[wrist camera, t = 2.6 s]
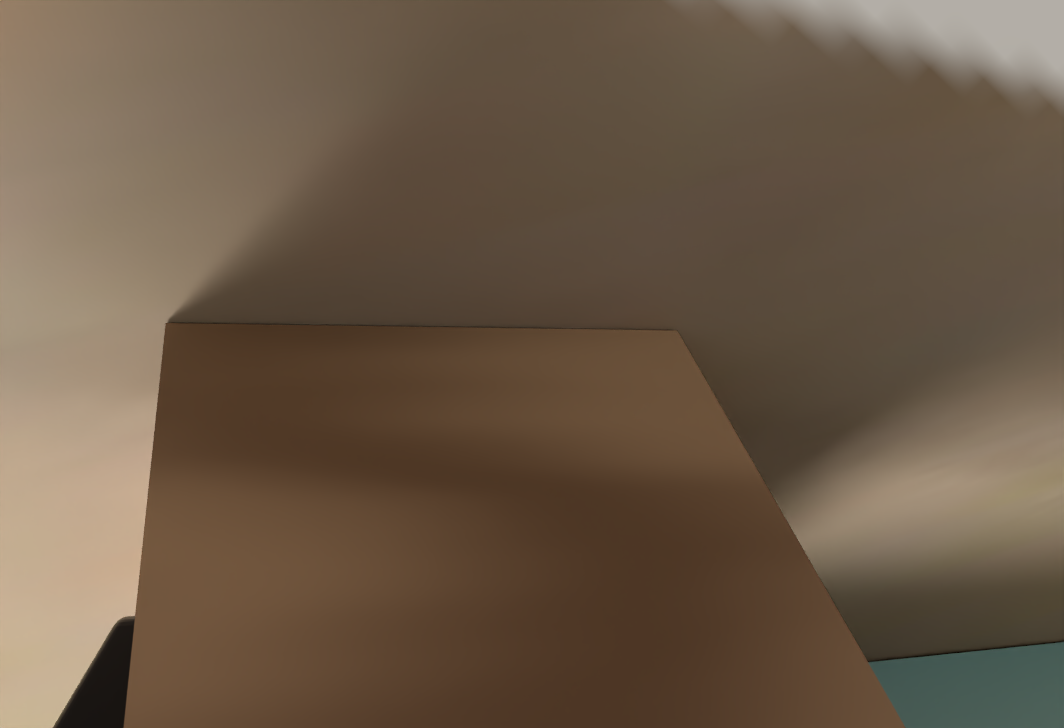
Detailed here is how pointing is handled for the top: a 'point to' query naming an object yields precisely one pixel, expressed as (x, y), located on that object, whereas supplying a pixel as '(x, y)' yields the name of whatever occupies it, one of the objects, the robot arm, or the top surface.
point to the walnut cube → (470, 541)
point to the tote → (978, 688)
